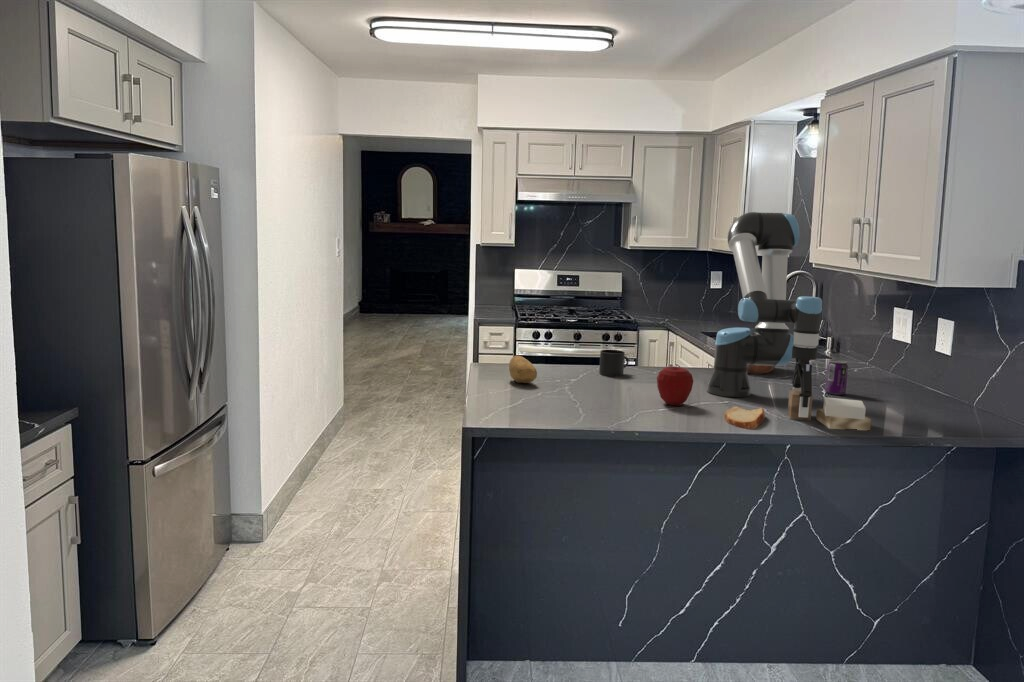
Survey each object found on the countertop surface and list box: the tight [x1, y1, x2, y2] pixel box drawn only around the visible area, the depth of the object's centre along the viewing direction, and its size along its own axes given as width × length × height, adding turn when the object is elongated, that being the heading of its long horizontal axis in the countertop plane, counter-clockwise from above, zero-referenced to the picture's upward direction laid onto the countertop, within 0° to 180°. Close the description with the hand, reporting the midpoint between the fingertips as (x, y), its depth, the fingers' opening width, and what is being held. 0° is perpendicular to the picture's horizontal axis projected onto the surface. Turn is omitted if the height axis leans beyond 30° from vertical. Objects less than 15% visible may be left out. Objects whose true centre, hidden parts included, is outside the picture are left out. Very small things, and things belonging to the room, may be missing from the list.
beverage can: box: [824, 359, 849, 396], centre depth 292 cm, size 7×7×12 cm
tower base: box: [815, 408, 872, 431], centre depth 246 cm, size 12×12×4 cm
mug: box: [598, 349, 629, 377], centre depth 314 cm, size 9×12×9 cm
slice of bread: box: [724, 405, 766, 430], centre depth 248 cm, size 18×18×4 cm
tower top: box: [822, 396, 867, 420], centre depth 246 cm, size 11×11×4 cm
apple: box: [656, 365, 694, 407], centre depth 264 cm, size 12×12×13 cm
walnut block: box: [786, 390, 813, 421], centre depth 253 cm, size 6×6×8 cm
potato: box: [508, 355, 538, 384], centre depth 290 cm, size 9×16×9 cm, turn 17°
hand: (799, 412), depth 253 cm, fingers open, 13 cm apart
